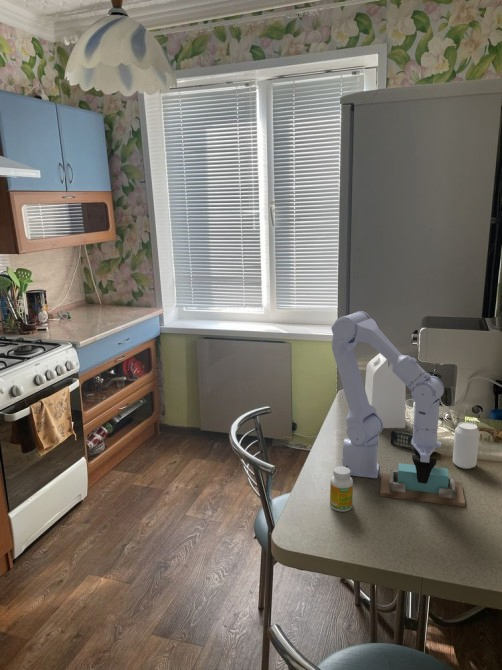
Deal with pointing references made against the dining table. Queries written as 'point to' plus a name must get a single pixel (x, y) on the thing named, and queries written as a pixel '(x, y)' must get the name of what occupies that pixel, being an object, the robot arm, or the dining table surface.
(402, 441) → the mobile phone
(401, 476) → the teal rectangular block
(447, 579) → the dining table surface
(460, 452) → the beverage can
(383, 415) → the milk
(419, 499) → the wooden bracket tray
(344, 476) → the supplement bottle
